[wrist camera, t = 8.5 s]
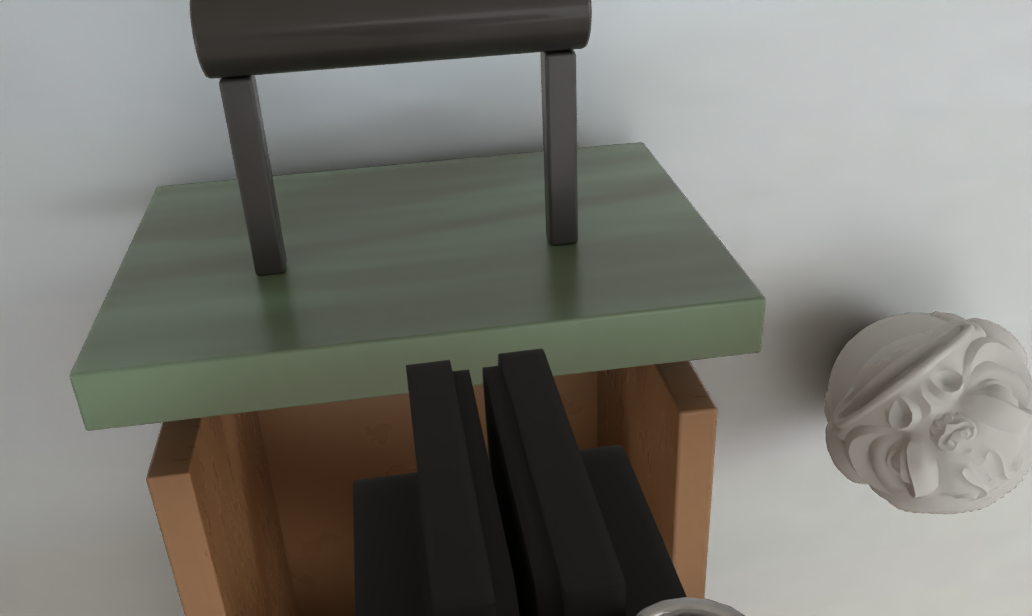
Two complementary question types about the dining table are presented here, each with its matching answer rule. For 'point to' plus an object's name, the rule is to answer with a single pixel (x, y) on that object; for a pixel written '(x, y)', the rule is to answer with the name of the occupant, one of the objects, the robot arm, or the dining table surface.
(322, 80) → the dining table surface
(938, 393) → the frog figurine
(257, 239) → the drawer
